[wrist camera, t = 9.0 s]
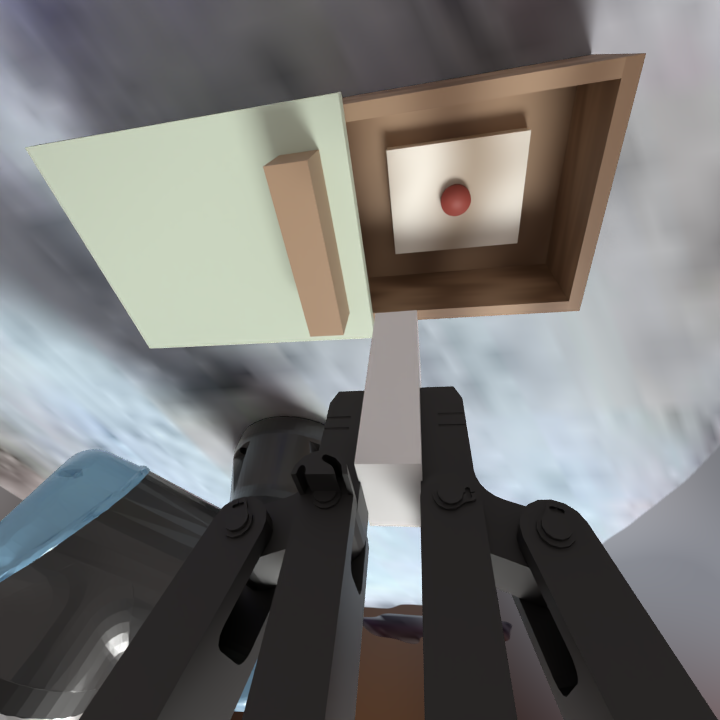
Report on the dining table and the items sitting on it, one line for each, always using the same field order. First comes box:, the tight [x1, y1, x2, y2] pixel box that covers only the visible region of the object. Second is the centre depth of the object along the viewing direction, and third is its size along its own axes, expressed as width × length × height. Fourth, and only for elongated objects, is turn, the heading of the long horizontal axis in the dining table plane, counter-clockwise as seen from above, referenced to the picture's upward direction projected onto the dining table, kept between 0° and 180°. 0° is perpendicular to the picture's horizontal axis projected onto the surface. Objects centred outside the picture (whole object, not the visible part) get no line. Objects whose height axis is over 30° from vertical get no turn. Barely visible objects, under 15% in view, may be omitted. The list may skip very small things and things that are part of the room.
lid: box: [25, 92, 374, 349], centre depth 21 cm, size 17×13×3 cm
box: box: [342, 53, 646, 320], centre depth 22 cm, size 16×12×6 cm
